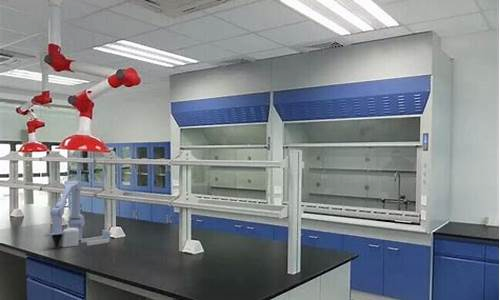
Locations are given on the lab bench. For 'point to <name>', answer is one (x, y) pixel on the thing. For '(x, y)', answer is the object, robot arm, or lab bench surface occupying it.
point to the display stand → (98, 239)
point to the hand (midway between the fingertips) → (56, 246)
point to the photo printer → (70, 237)
